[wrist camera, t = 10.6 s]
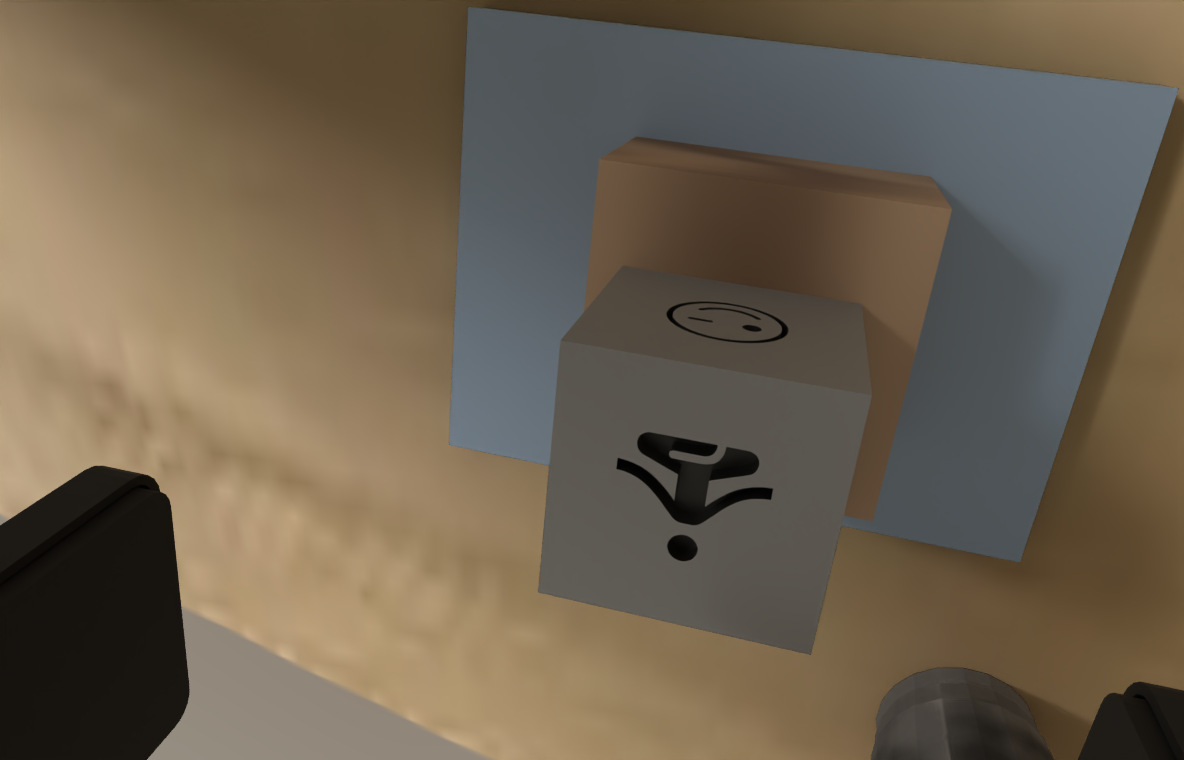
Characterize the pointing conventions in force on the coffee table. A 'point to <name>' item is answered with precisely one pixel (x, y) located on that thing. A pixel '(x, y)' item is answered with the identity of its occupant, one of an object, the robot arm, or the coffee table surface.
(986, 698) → the beverage cup
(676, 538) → the grey symbol cube
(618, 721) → the coffee table surface
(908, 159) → the blue board
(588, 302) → the light brown plinth
